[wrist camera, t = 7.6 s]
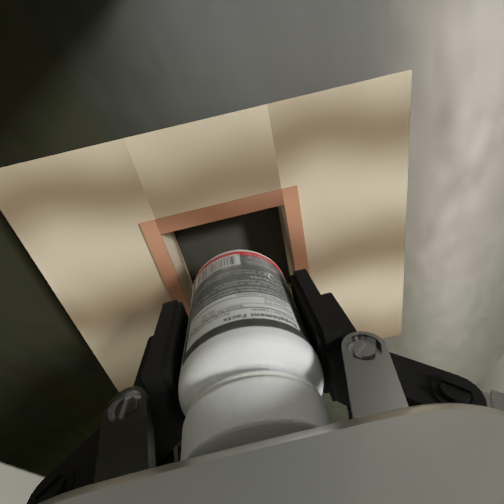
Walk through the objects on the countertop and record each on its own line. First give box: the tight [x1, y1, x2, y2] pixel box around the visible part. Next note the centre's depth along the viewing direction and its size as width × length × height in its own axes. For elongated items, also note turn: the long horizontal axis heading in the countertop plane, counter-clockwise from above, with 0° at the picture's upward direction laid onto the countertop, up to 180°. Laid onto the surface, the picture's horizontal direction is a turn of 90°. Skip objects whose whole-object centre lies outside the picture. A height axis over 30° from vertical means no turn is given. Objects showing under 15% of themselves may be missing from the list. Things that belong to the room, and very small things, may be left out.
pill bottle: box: [178, 250, 332, 461], centre depth 11 cm, size 5×5×8 cm
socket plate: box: [0, 70, 412, 392], centre depth 17 cm, size 16×20×3 cm
